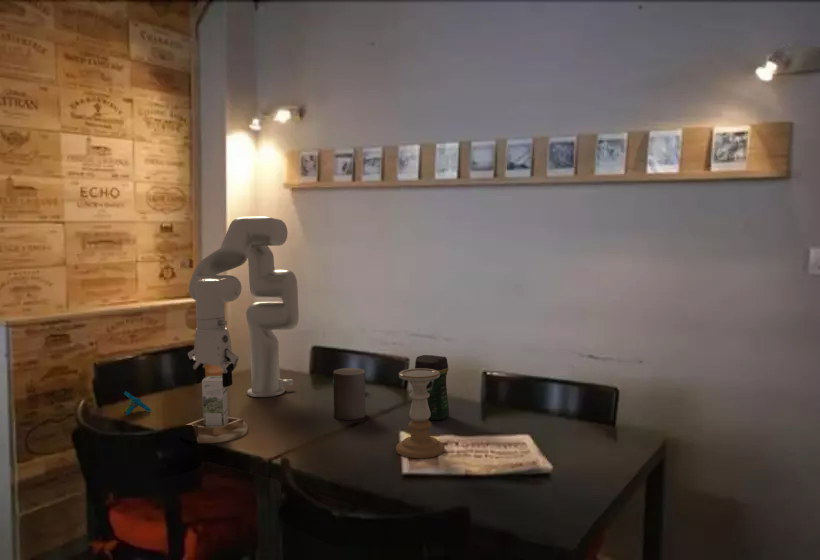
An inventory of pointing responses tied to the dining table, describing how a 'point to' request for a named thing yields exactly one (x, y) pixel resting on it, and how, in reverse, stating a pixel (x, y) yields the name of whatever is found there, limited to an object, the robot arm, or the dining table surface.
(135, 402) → the blue t-shaped piece
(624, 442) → the dining table surface
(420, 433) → the candle holder
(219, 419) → the syrup box
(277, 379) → the robot arm
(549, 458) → the dining table surface
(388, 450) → the dining table surface
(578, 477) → the dining table surface
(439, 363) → the coffee jar
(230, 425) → the flange base
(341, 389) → the pillar candle
